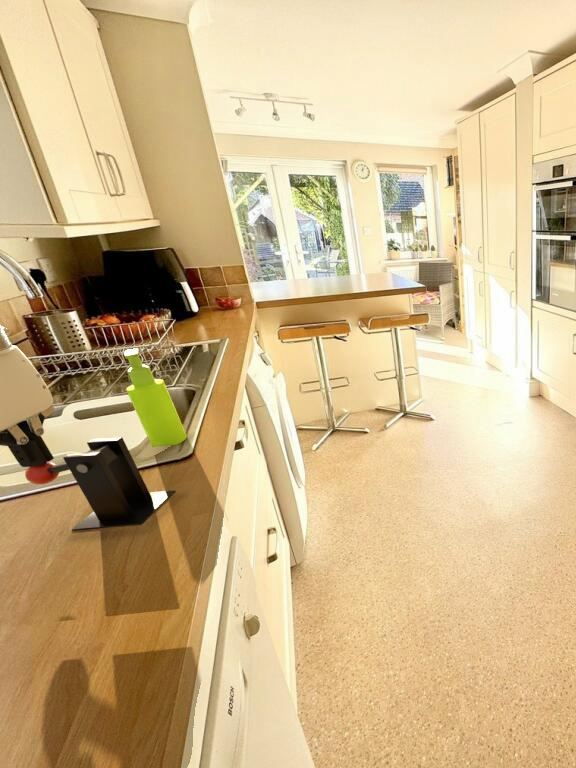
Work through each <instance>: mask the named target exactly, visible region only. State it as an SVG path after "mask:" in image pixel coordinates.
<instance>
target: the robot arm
mask: <svg viewBox="0 0 576 768" xmlns="http://www.w3.org/2000/svg"><path fill="white" fill-rule="evenodd" d="M10 335H11V331H10V329H9V328H7V327H6V326H2V324H1V323H0V446H1V447H8V449H9V451H10V452H11V454H12V455H13V457H14V458H15V460H16V462H17V463H18V464H19V466H21V467H22V468H28V467H32V466H43V465H44V464H46V463H47V462H52V461H53V460H54V455H53V454H52V453H51V450H50V449H49V447H48V445H47V444H46V443H45V441H44V439H43V437H42V436H43V435H44V434H45V429H44V427H43V426H44V422H45V419H47V418H48V417H49V416H50V415H51V414H52V413H53V412H54V411H55V407H54V406H53V403H54V398H53V395H52V392H51V390H50V389H49V387H48V386H47V384H46V382H45V380H44V378H43V377H42V375H41V374H40V373H39V371H38V370H37V368H36V367H35V366H34V365H33V363H32V362H31V360H29V358H28V357H27V356H26V355H25V353H23V352H22V350H21V349H20V348H19V347H18V346H17V345H13V344H12V342H11V340H10V338H9V336H10Z"/></svg>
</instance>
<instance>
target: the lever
mask: <svg viewBox="0 0 576 768" xmlns="http://www.w3.org/2000/svg"><path fill="white" fill-rule="evenodd" d="M88 452H101V453H102V455H103V456H104V458H105V460H106V462H107V464H109V463H111V462H112V461H114V460H115V459H116V458H118V456H117V455H116V454H115V452H114V451H113V450H112V449H111V447H110V446H109V445H105V446H101V447H97V448H94V449H91V450H90V449H89V450H88V451H85V453H88ZM67 471H70V469H69V467H68V466H67V464H66V462H65V461H64V462H61V463H55V462H52V461H49V462H47V463H46V464H44V465H43V466H32V467H27V468H26V470H25V473H24V476H25V479H26V480H27V481H28V482H29V483H32V484H34V485H35V484H36V485H45V484H49V483H51V482H53V481H55V480H56V479H57V478H58V476H59V474H60V473H63V472H67Z"/></svg>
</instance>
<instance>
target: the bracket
mask: <svg viewBox="0 0 576 768" xmlns="http://www.w3.org/2000/svg"><path fill="white" fill-rule="evenodd" d="M86 444H87V446H88V448H89V450H91V449H94V448H97V447H101V446H105V445H109V446H110V447H111V449H112V450H113V451H114V452H115V454H116V455H117V456H118V458H116V459H115V460H114V461H112V462H111V463H109V464H107V462H106V460H105V458H104V456H103V455H102V453H101V452H88V451H87V452H88V453H86V452H77V453H68V454H67V455H65V456H63V457H62V458H63V459H62V460H64V462H66V464H67V466H68V467H69V469H70V470H69V471H70V473H71V474H72V476H73V478H74V480H75V482H76V483H77V486H78V487H79V488H80V490H81V492H82V493H83V495H84V497H85V499H86V501H87V503H88V504H89V506H90V508H91V509H92V512H91V513H90V514H88V515H87V516H86V517H85V518H84V519H82V520H80V522H79V523H77V525H75V526H73V528H72V529H71V531H72V532H74V531H76V532H77V531H85V530H86V531H87V530H97V529H106V528H119V527H130V526H131V527H133V526H140V525H141V526H142V525H143V524H145V522H146V521H147V520H148V519H149V518H151V516H152V515H153V514H154V513H156V511H158V510H159V508H161V506H162V505H163V504H164V503H166V501H168V500H169V499H170V498H171V496H173V495H174V494H175V493H176V490H175V489H173V490H161V491H149V489H148V487H147V485H146V483H145V481H144V478H143V477H142V474H141V473H140V471H139V469H138V467H137V465H136V462H135V460H134V458H133V456H132V455H131V452H130V450H129V448H128V446H127V444H126V442H125V440H124V438H123V437H122V436H121V437H120V436H119V437H107V438H106V437H105V438H92V439H91V440H89V441H87V442H86Z"/></svg>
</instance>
